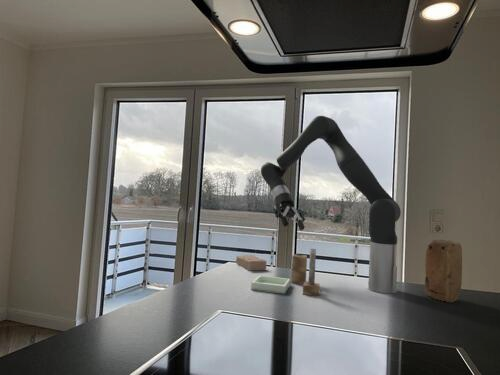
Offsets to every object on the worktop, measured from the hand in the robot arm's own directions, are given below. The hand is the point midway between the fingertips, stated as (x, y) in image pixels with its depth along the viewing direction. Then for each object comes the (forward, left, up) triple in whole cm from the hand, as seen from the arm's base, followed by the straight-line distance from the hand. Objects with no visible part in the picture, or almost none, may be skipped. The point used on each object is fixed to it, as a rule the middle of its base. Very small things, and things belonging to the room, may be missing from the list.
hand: (294, 227), depth 143 cm
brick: (+21, -13, -21) cm, 32 cm away
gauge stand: (-9, +19, -20) cm, 29 cm away
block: (-52, +6, -20) cm, 56 cm away
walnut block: (-3, +5, -20) cm, 21 cm away
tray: (+5, +18, -20) cm, 28 cm away
